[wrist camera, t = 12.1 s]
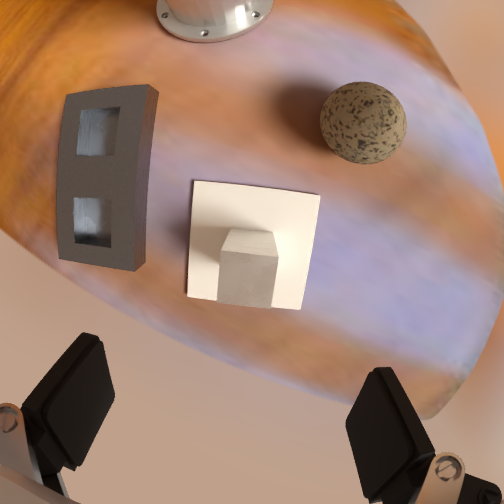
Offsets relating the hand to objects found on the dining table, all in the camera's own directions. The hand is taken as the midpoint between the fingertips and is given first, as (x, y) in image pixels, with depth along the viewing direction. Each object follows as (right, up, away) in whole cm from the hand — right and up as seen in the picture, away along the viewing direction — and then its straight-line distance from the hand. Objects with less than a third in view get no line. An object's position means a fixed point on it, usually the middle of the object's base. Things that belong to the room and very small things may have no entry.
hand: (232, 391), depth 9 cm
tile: (0, +5, +20) cm, 20 cm away
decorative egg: (+10, +17, +16) cm, 25 cm away
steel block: (0, +5, +19) cm, 20 cm away
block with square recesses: (-15, +13, +18) cm, 26 cm away
